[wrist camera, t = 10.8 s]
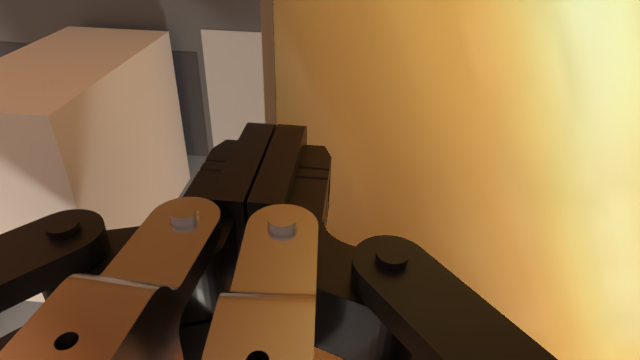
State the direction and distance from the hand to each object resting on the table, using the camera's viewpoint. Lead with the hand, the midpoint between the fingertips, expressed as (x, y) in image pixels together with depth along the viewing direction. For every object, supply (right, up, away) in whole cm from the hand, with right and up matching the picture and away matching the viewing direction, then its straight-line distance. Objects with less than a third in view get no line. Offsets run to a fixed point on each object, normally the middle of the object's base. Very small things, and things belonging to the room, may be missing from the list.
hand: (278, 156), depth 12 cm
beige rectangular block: (-5, +2, +3) cm, 6 cm away
